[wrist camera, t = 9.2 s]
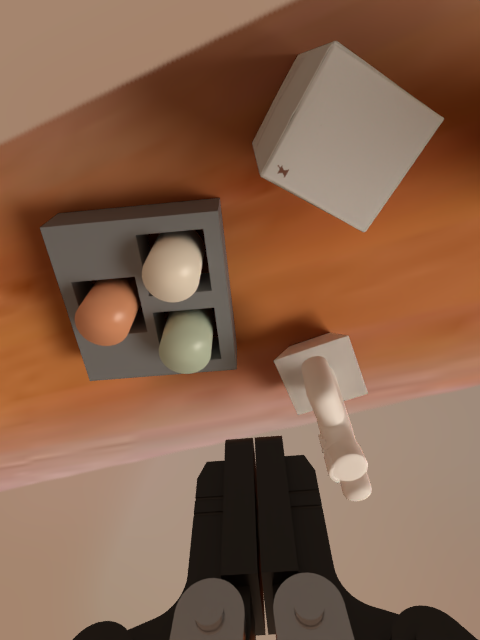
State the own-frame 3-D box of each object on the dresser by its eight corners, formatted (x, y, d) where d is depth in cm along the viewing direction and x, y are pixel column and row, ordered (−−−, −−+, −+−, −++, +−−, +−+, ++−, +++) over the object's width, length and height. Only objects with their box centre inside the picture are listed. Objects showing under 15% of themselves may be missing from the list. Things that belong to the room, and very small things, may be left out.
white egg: (201, 222, 37) (195, 246, 32) (207, 270, 40) (203, 299, 34) (150, 227, 38) (136, 252, 32) (159, 274, 40) (147, 304, 35)
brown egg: (138, 266, 39) (123, 296, 34) (147, 309, 42) (134, 343, 36) (90, 271, 40) (68, 301, 34) (102, 313, 42) (83, 348, 37)
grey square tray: (219, 197, 37) (217, 210, 34) (236, 346, 44) (236, 369, 41) (58, 213, 38) (39, 227, 34) (101, 357, 45) (89, 380, 42)
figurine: (337, 306, 42) (381, 411, 29) (361, 379, 47) (410, 498, 34) (266, 331, 44) (279, 441, 31) (297, 399, 48) (319, 521, 35)
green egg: (211, 295, 41) (207, 328, 36) (216, 335, 43) (214, 371, 38) (164, 299, 41) (154, 332, 36) (172, 339, 43) (163, 375, 38)
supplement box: (325, 189, 37) (363, 239, 26) (249, 143, 35) (254, 176, 24) (380, 103, 34) (450, 119, 23) (299, 48, 32) (332, 36, 21)
